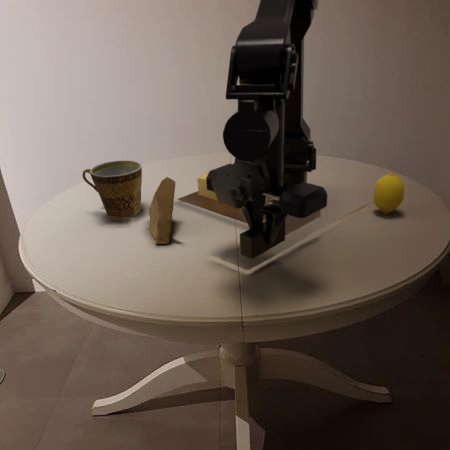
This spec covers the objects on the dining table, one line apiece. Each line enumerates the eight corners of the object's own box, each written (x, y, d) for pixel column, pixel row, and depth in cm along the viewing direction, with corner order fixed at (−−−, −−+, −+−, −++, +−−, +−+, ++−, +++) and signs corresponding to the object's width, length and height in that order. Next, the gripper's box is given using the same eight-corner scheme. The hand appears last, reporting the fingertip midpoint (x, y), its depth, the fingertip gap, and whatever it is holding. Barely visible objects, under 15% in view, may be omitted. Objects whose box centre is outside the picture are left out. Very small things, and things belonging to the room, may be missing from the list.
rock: (179, 237, 81) (200, 208, 88) (145, 199, 78) (169, 173, 85) (143, 261, 88) (165, 233, 95) (110, 228, 85) (135, 201, 92)
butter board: (222, 185, 109) (222, 181, 109) (298, 207, 96) (299, 203, 95) (177, 203, 101) (176, 199, 101) (253, 230, 88) (253, 225, 87)
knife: (252, 259, 70) (251, 238, 68) (240, 254, 72) (239, 234, 70) (324, 217, 81) (326, 198, 79) (313, 214, 82) (314, 195, 81)
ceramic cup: (156, 208, 99) (150, 161, 94) (134, 228, 91) (125, 177, 86) (103, 203, 103) (94, 158, 98) (77, 222, 95) (66, 173, 90)
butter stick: (214, 188, 105) (213, 171, 103) (241, 196, 100) (240, 178, 98) (198, 195, 102) (197, 177, 100) (224, 203, 97) (223, 184, 95)
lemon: (367, 209, 94) (372, 169, 89) (394, 207, 94) (400, 167, 89) (376, 220, 89) (382, 179, 85) (405, 217, 89) (412, 176, 85)
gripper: (174, 141, 65) (184, 242, 74) (279, 166, 54) (277, 282, 62) (229, 125, 72) (233, 220, 80) (333, 144, 60) (325, 252, 69)
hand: (263, 241), depth 73 cm, fingers closed on knife, 2 cm apart
